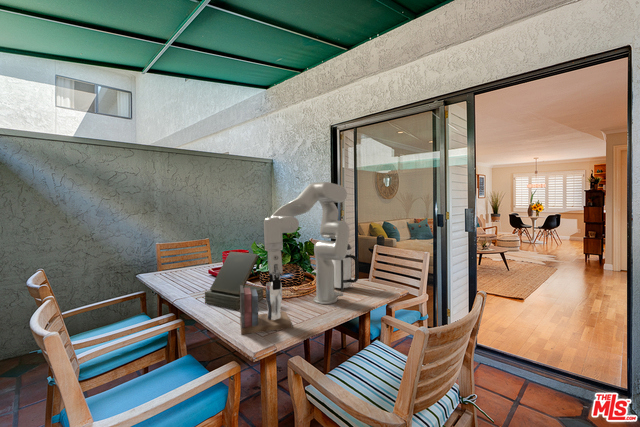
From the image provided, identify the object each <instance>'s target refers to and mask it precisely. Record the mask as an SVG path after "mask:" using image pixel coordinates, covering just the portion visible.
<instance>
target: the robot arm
mask: <svg viewBox="0 0 640 427" xmlns="http://www.w3.org/2000/svg"><path fill="white" fill-rule="evenodd" d="M347 198H348V192H347V189H346V188H345V187H344V186H343V185H341V184H337V183H333V182H328V181H322V182H319V181H318V182H312V183H310V184H308V185H307V186H306V187H305V188H304V189H303V190H302V192H300V194H299V195H298V196H297V197H296V198H294V199H292V200H291V201H289V202H288V203H286V204H284V205H282V206H281V207H278V209H277V210H275V212H274V213H272V215H271V216H269V217H266V218H264V220H263V233H264V238H263V239H264V251H265V252H267V269H268V272H269V277H268V279H269V282H273V290H279V289H281V283H282V282H281V276H280V275H282V274H283V258H282V250H283V248H284V247H283V244H284V242H283V234H292V233H295V232H296V231H298V229H299V226H300V222H299V220H298V218H296V216H297V217H298V216H300V215H303V214H306V213H308V212H310V211H311V209H312V208H313V207H314V205H315V204H316V203H317V202H319V204H320V206H321V209H322V216H321V223H320V227H319V234H320V236H321V237H322V238H325V240H319V241H317V242H316V243H315V244H314V245H313V246H314V248H313V252H314V258H315V276H316V279H315V282H316V284H315V286H316V291H315V292H316V296H314V297H313V302H314V303H316V304H320V305H331V304H334V303H336V302H338V297H343V296H344V292H341V291H335V287H334V264H333V262H332V260H343V259H344V258H345V256H346V253H347V247H348V244H349V240H350V239H349V238H350V227H349V224H348V223H347V221H344V220H339V209H338V206H336V203H343V202H344V201H346V199H347ZM326 239H333V240H326ZM280 282H281V283H280Z"/></svg>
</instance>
